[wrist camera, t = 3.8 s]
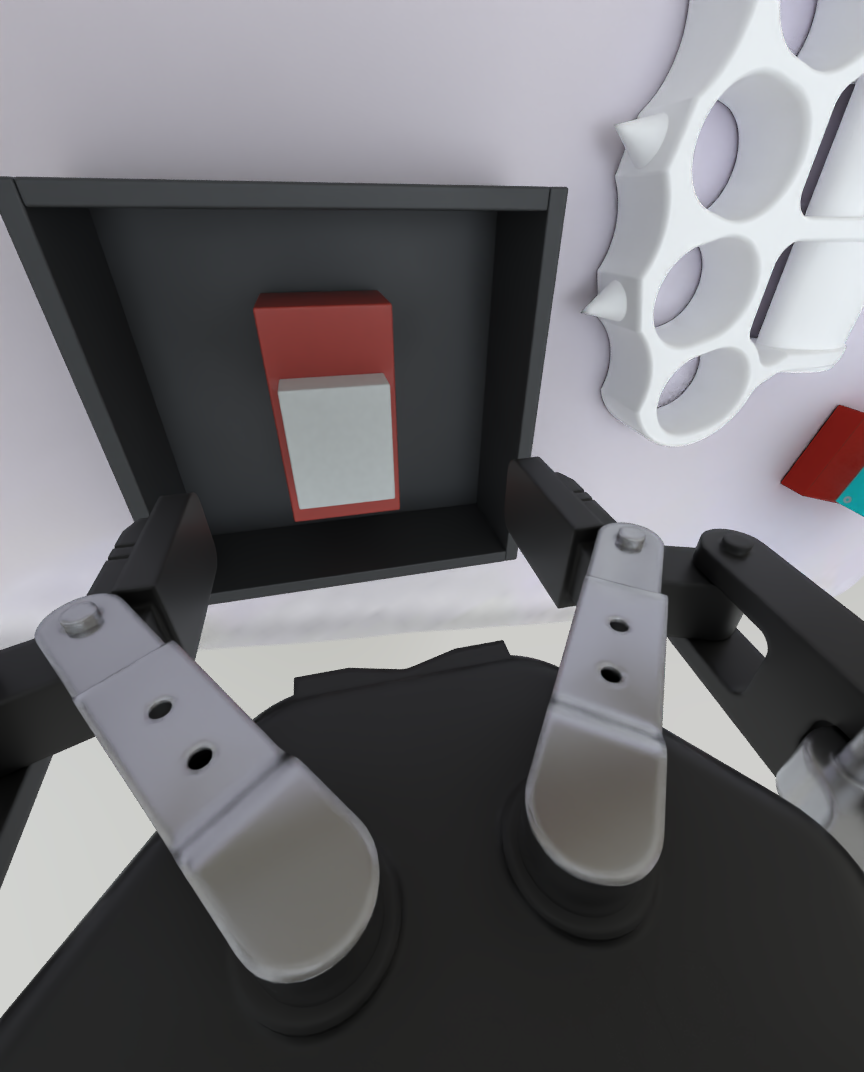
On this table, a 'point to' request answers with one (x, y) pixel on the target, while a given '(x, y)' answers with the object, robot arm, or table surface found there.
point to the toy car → (332, 399)
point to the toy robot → (833, 462)
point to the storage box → (237, 366)
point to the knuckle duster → (737, 218)
